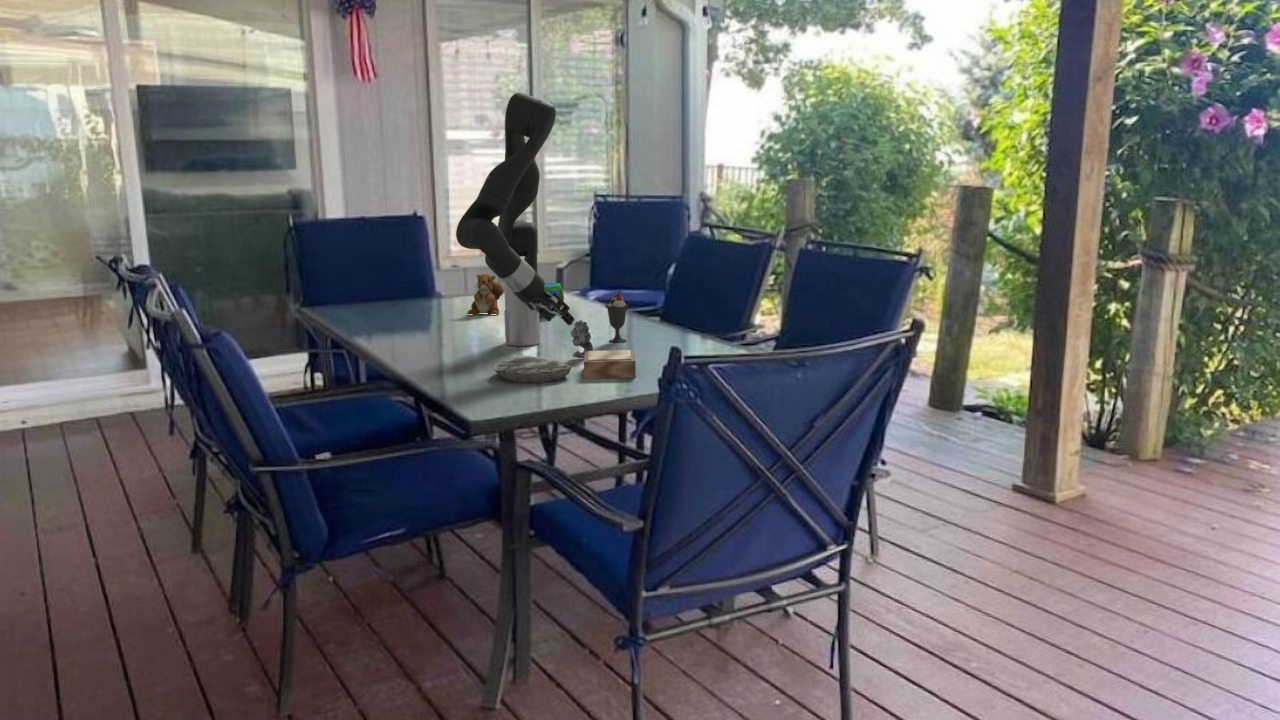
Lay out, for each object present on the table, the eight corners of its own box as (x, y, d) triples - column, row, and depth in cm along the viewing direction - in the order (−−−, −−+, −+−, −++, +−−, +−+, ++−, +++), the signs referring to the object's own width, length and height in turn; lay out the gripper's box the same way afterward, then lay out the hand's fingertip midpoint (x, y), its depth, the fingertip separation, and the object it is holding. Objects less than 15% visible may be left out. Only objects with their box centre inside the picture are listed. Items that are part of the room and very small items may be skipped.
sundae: (627, 343, 265) (626, 289, 261) (603, 343, 266) (601, 289, 263) (632, 339, 271) (631, 286, 268) (608, 338, 272) (607, 285, 269)
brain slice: (475, 377, 230) (475, 365, 229) (532, 365, 241) (531, 353, 241) (527, 390, 216) (526, 377, 215) (584, 377, 228) (583, 365, 227)
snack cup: (553, 310, 322) (552, 280, 319) (574, 314, 314) (573, 283, 312) (516, 316, 311) (514, 285, 309) (536, 320, 304) (535, 288, 301)
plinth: (584, 378, 225) (583, 360, 224) (585, 367, 237) (585, 350, 236) (635, 377, 225) (635, 359, 224) (634, 366, 237) (634, 349, 236)
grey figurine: (577, 361, 244) (576, 322, 242) (569, 357, 249) (567, 319, 247) (596, 358, 246) (595, 320, 244) (587, 355, 251) (586, 317, 249)
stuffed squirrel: (465, 316, 313) (463, 276, 311) (479, 309, 327) (477, 270, 324) (495, 316, 312) (493, 276, 309) (508, 309, 326) (506, 270, 323)
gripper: (547, 269, 227) (587, 311, 237) (513, 265, 238) (552, 305, 248) (529, 294, 225) (570, 336, 235) (496, 288, 235) (536, 328, 245)
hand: (561, 320), depth 241 cm, fingers open, 8 cm apart
